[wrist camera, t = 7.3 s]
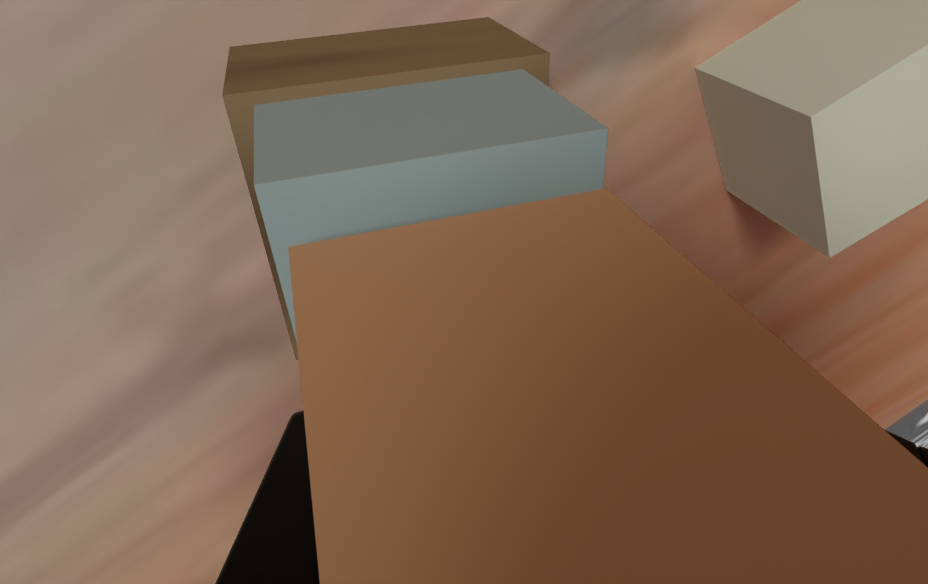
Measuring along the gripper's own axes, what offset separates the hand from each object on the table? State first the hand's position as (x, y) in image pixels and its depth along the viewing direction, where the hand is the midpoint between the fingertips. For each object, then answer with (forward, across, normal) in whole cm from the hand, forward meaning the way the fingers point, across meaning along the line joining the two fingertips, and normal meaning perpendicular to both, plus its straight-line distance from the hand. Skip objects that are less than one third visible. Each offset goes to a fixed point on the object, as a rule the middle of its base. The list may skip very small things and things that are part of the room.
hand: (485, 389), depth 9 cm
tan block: (+1, 0, 0) cm, 1 cm away
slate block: (+5, 0, 0) cm, 5 cm away
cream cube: (+9, -12, 0) cm, 15 cm away
